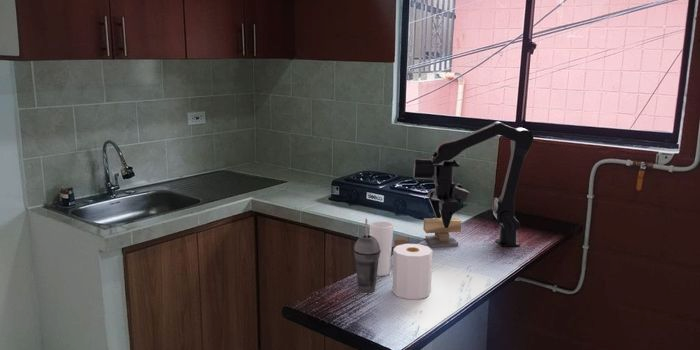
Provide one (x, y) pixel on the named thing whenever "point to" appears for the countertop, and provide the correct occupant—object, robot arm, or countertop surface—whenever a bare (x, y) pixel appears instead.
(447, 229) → the oak bar
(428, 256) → the toilet paper
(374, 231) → the drinking glass
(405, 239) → the wooden block
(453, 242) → the balance stand
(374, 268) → the beverage cup
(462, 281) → the countertop surface
